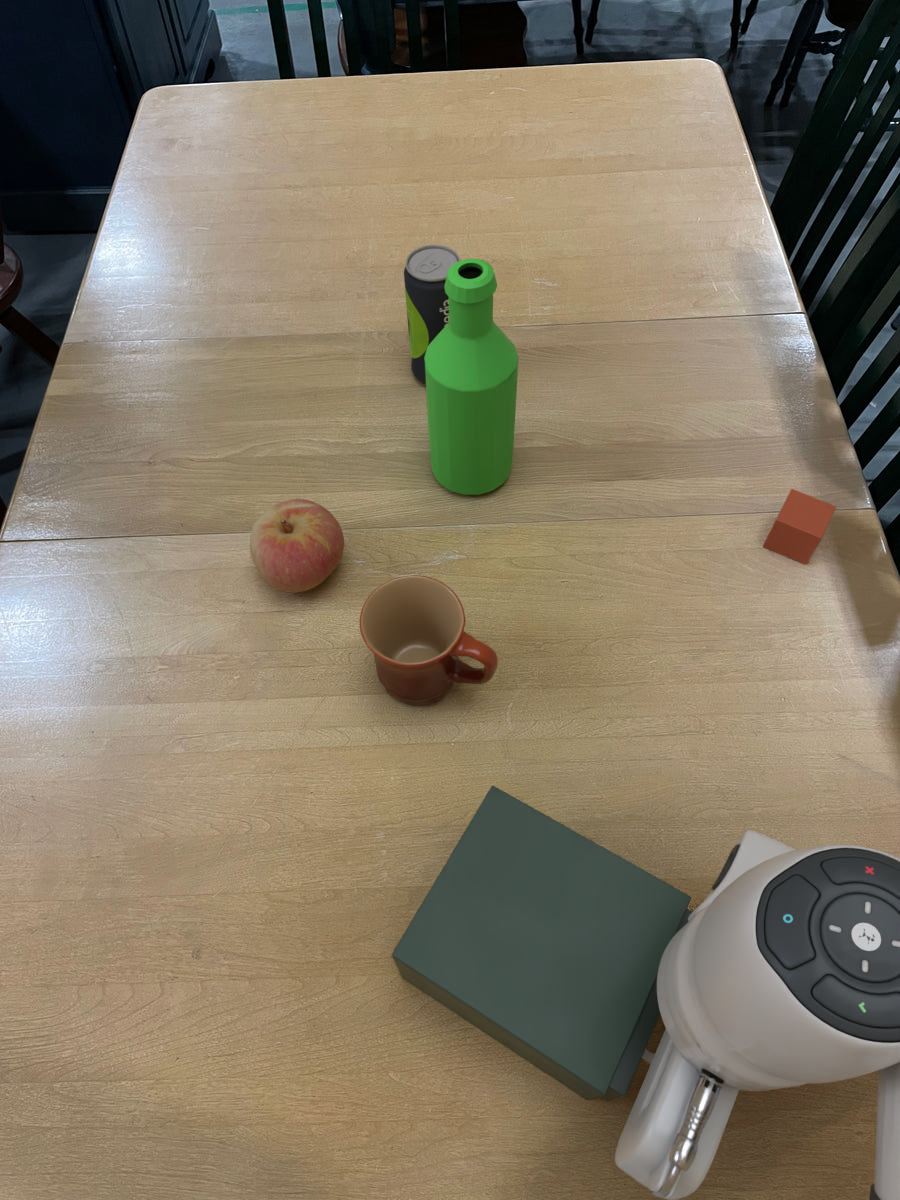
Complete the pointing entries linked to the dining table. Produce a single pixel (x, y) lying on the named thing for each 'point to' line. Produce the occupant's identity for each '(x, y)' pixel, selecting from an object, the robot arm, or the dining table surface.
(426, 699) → the mug
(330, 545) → the apple
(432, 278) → the beverage can
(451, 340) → the bottle
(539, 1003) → the cabinet
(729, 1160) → the dining table surface
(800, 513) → the block
